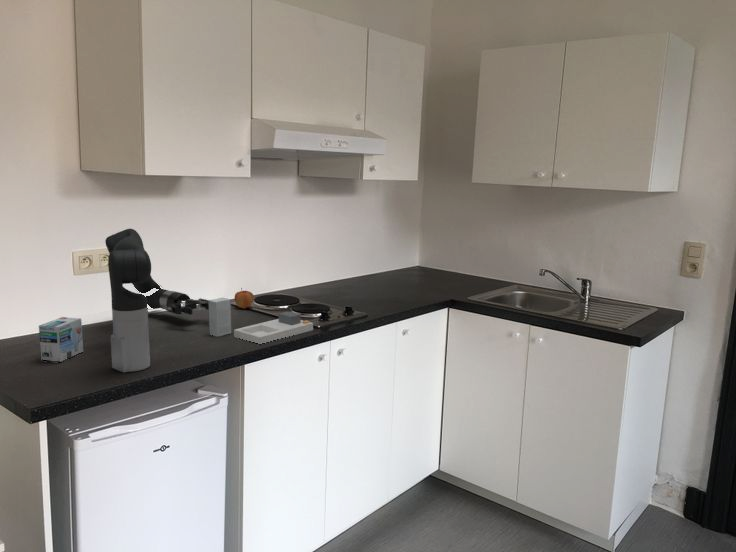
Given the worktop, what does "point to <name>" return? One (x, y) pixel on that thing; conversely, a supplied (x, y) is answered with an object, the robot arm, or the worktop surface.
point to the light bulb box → (61, 338)
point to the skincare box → (219, 317)
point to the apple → (243, 299)
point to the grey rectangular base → (274, 328)
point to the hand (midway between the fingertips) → (202, 309)
